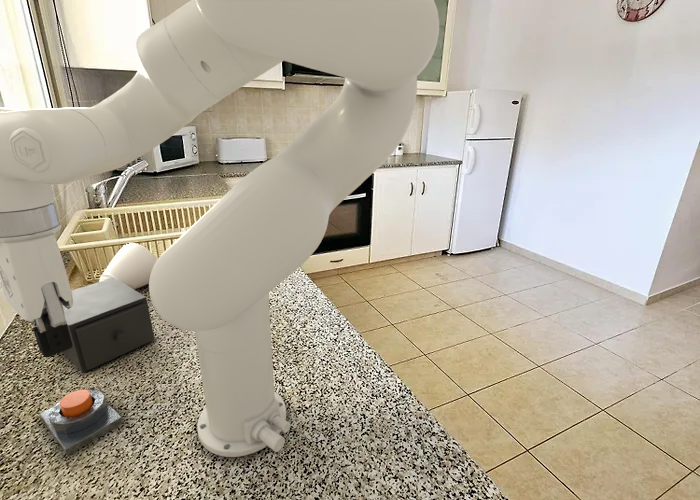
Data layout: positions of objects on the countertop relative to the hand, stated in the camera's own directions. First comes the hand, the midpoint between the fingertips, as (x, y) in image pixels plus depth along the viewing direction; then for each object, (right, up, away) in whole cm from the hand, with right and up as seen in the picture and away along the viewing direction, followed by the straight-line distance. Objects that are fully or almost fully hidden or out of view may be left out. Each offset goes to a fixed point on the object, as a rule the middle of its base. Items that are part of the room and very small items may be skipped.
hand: (57, 350), depth 50 cm
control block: (0, -12, +4) cm, 13 cm away
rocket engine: (-17, +3, +41) cm, 44 cm away
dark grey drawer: (-6, -4, +21) cm, 22 cm away
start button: (0, -9, +4) cm, 10 cm away
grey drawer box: (-8, -4, +23) cm, 24 cm away
